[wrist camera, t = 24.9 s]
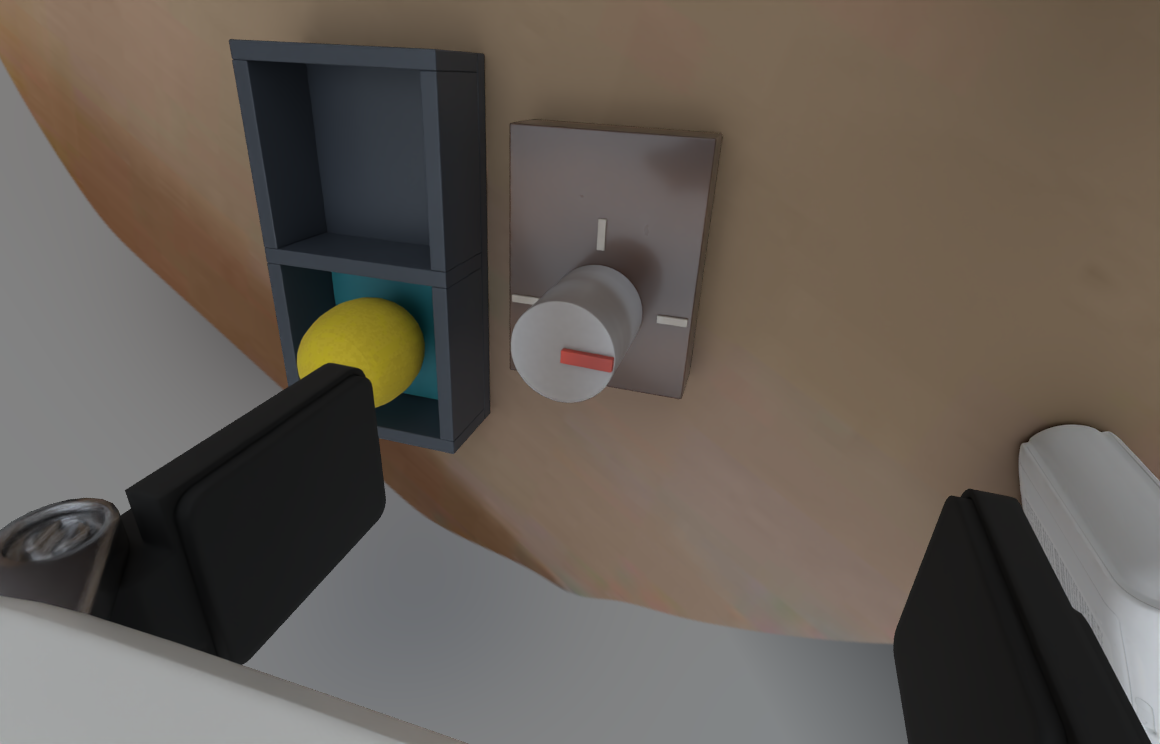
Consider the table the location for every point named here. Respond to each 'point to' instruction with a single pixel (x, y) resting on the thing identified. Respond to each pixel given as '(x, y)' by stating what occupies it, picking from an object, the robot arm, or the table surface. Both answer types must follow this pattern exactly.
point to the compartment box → (377, 208)
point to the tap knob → (577, 334)
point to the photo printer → (1102, 547)
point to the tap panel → (617, 229)
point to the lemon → (367, 344)
